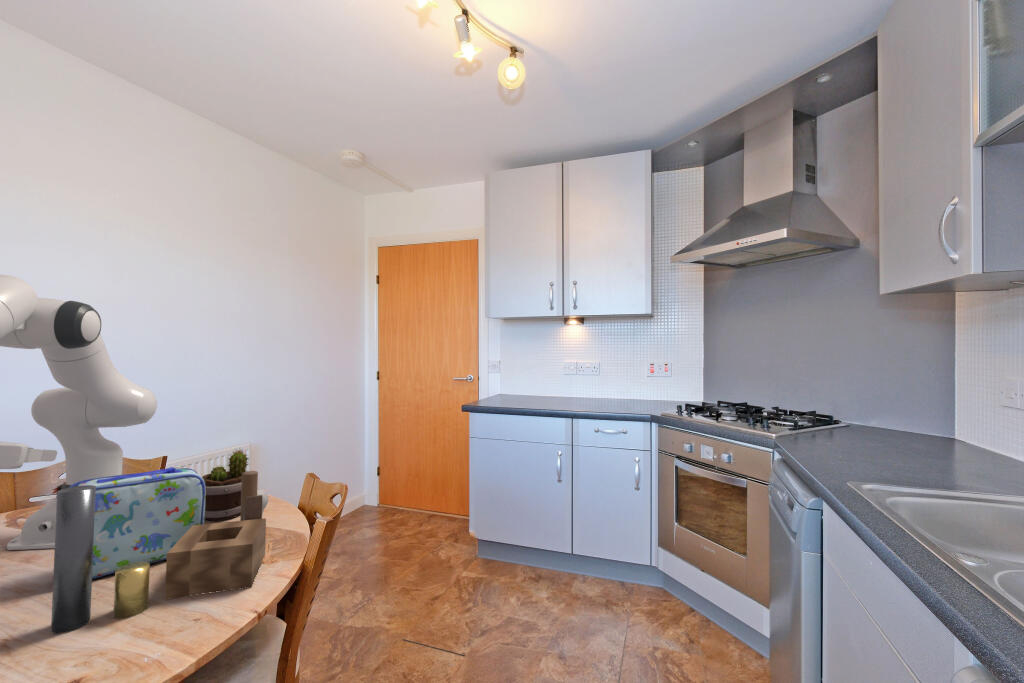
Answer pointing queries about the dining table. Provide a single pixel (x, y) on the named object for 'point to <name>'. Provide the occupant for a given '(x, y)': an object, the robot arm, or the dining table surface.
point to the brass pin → (131, 589)
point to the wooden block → (250, 497)
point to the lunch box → (143, 515)
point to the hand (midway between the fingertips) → (43, 454)
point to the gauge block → (215, 558)
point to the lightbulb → (265, 498)
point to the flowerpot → (225, 489)
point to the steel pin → (73, 558)
